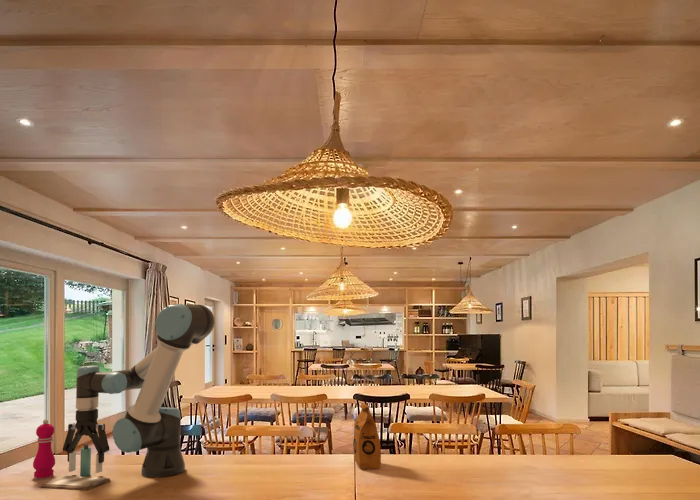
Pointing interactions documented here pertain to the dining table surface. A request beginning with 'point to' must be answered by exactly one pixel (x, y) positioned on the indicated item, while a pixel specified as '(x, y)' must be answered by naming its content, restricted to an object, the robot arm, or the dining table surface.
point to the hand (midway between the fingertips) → (85, 471)
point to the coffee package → (366, 440)
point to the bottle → (85, 461)
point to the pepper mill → (44, 451)
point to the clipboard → (75, 482)
